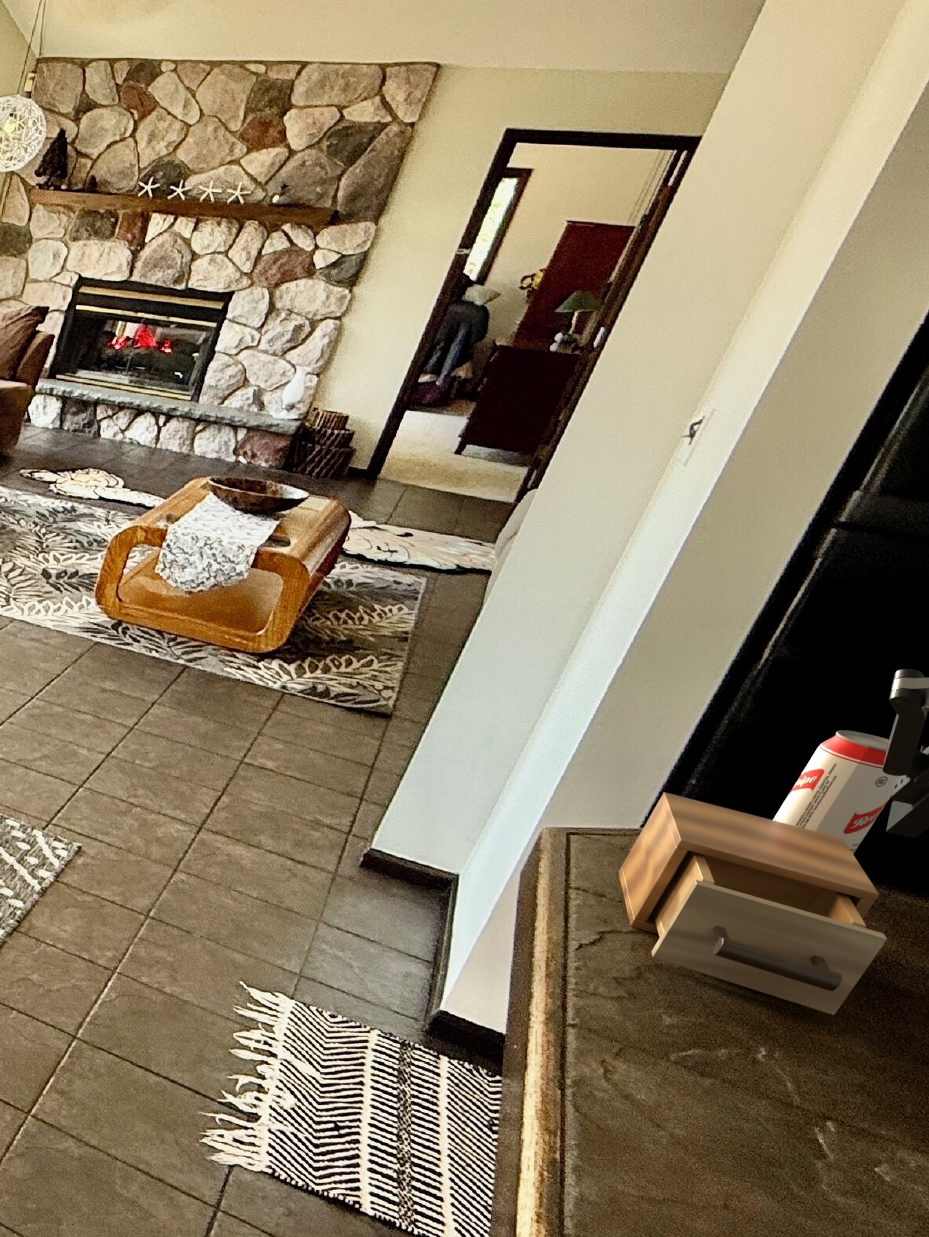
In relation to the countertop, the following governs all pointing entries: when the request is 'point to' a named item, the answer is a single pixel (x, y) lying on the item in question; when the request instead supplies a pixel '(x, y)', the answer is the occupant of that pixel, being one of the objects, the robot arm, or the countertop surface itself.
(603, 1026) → the countertop surface
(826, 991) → the drawer
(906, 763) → the robot arm
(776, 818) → the beer can
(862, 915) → the cabinet
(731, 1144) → the countertop surface
